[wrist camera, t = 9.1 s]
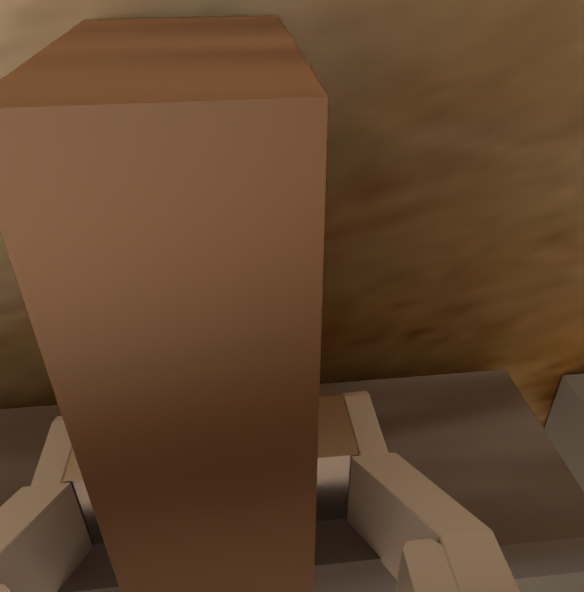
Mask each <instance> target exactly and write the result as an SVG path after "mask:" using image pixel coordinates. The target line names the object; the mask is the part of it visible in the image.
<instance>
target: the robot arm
mask: <svg viewBox="0 0 584 592" xmlns="http://www.w3.org/2000/svg"><path fill="white" fill-rule="evenodd" d="M336 519H347V521H348V522H349V523H350V525H351V526H352V527H353V528H354V529H355V530H356V531H357V532H358V533H359V535H360V536H361V537H362V538H363V539H364V540H365V541H366V542H367V543H368V545H369V546H370V547H371V548H372V549H373V550H374V551H375V552H376V553H377V555H378V556H379V557H380V558H381V562H382V563H383V565H384V566H385V567H386V568H387V569H388V571H389V572H390V573H391V574H392V575H393V576H394V578H395V579H396V580H397V583H396V588H395V592H520V591H519V588H518V586H517V584H516V582H515V580H514V577H513V575H512V573H511V571H510V569H509V566H508V564H507V562H506V560H505V557H504V555H503V553H502V551H501V549H500V546H499V544H498V542H497V540H496V538H495V535H494V533H493V531H492V530H491V529H490V528H489V527H487V526H486V525H485V524H484V523H482V522H481V521H480V520H479V519H477V518H476V517H475V516H474V515H473V514H471V513H470V512H469V511H468V510H466V509H465V508H464V507H463V506H461V505H460V504H459V503H458V502H456V501H455V500H454V499H453V498H451V497H450V496H449V495H448V494H447V493H445V492H444V491H443V490H442V489H440V488H439V487H438V486H437V485H435V484H434V483H433V482H432V481H430V480H429V479H428V478H427V477H425V476H424V475H423V474H422V473H421V472H419V471H418V470H417V469H416V468H414V467H413V466H412V465H411V464H409V463H408V462H407V461H406V460H404V459H403V458H402V457H401V456H399V455H398V454H397V453H388V450H387V447H386V444H385V441H384V438H383V435H382V432H381V429H380V426H379V423H378V420H377V417H376V414H375V411H374V408H373V404H372V401H371V398H370V395H369V394H368V392H367V391H359V392H349V393H342V394H340V393H339V394H328V395H319V428H318V462H317V495H316V521H325V520H336ZM102 543H104V541H103V538H102V535H101V532H100V529H99V526H98V523H97V520H96V517H95V514H94V511H93V508H92V505H91V502H90V499H89V496H88V493H87V490H86V487H85V484H84V481H83V478H82V475H81V472H80V469H79V466H78V463H77V460H76V457H75V454H74V451H73V448H72V445H71V442H70V439H69V436H68V433H67V430H66V427H65V424H64V421H63V418H62V416H57V417H56V418H55V420H54V421H53V422H52V424H51V427H50V430H49V433H48V436H47V439H46V442H45V445H44V447H43V450H42V453H41V456H40V459H39V462H38V465H37V468H36V471H35V474H34V477H33V480H32V483H31V486H26V487H22V488H20V489H19V490H18V491H17V492H16V493H15V494H14V495H13V496H12V497H11V498H9V499H8V500H7V501H6V502H5V503H4V504H3V505H2V506H1V507H0V592H58V591H59V590H60V589H61V587H62V586H63V585H64V583H65V582H66V581H67V580H68V578H69V577H70V576H71V575H72V573H73V572H74V571H75V569H76V568H77V567H78V566H79V564H80V563H81V562H82V561H83V559H84V558H85V557H86V555H87V554H88V553H89V552H90V550H91V549H92V548H93V546H92V545H93V544H102ZM578 592H584V591H578Z"/></svg>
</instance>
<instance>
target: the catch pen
mask: <svg viewBox="0 0 584 592" xmlns="http://www.w3.org/2000/svg"><path fill="white" fill-rule="evenodd" d="M544 431H545V432H546V434H547V435H548V437H549V438H550V440H551V442H552V443H553V445H554V446H555V448H556V449H557V451H558V453H559V454H560V456H561V457H562V459H563V460H564V462H565V463H566V465H567V467H568V468H569V470H570V471H571V473H572V474H573V476H574V478H575V479H576V481H577V482H578V484H579V485H580V487H581V489H582V490H583V492H584V373H582V374H571V375H563V376H562V379H561V382H560V385H559V387H558V390H557V393H556V396H555V399H554V402H553V405H552V408H551V411H550V413H549V416H548V419H547V422H546V425H545V428H544ZM514 580H515V582H516V584H517V586H518V588H519V591H520V592H578V591H584V572H575V573H566V574H557V575H549V576H540V577H531V578H522V579H514Z"/></svg>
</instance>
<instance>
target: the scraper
mask: <svg viewBox="0 0 584 592" xmlns="http://www.w3.org/2000/svg"><path fill="white" fill-rule="evenodd" d="M327 122H328V96H327V94H326V92H325V91H324V89H323V88H322V86H321V84H320V83H319V81H318V80H317V78H316V76H315V75H314V73H313V71H312V70H311V68H310V67H309V65H308V63H307V62H306V60H305V59H304V57H303V55H302V54H301V52H300V51H299V49H298V47H297V46H296V44H295V43H294V41H293V39H292V38H291V36H290V35H289V33H288V31H287V30H286V28H285V26H284V25H283V23H282V22H281V20H280V18H279V17H278V16H235V17H189V18H143V19H97V20H83V21H82V22H81V23H79V24H78V25H76V26H75V27H74V28H72V29H71V30H69V31H68V32H67V33H65V34H64V35H63V36H61V37H60V38H58V39H57V40H56V41H54V42H53V43H51V44H50V45H49V46H47V47H46V48H44V49H43V50H42V51H40V52H39V53H37V54H36V55H35V56H33V57H32V58H31V59H29V60H28V61H26V62H25V63H24V64H22V65H21V66H19V67H18V68H17V69H15V70H14V71H12V72H11V73H10V74H8V75H7V76H6V77H4V78H3V79H1V80H0V232H1V235H2V238H3V241H4V244H5V247H6V250H7V253H8V256H9V259H10V262H11V265H12V268H13V271H14V274H15V277H16V280H17V283H18V286H19V289H20V292H21V295H22V298H23V301H24V304H25V307H26V310H27V313H28V316H29V319H30V322H31V325H32V328H33V331H34V334H35V337H36V340H37V343H38V346H39V349H40V352H41V355H42V358H43V361H44V364H45V367H46V370H47V373H48V376H49V379H50V382H51V385H52V388H53V391H54V394H55V397H56V400H57V403H58V405H48V406H35V407H22V408H10V409H0V507H1V506H2V505H3V504H4V503H5V502H6V501H7V500H8V499H9V498H11V497H12V496H13V495H14V494H15V493H16V492H17V491H18V490H19V489H20V488H22V487H26V486H31V483H32V480H33V477H34V474H35V471H36V468H37V465H38V462H39V459H40V456H41V453H42V450H43V447H44V445H45V442H46V439H47V436H48V433H49V430H50V427H51V424H52V422H53V421H54V420H55V418H56V417H57V416H62V418H63V421H64V424H65V427H66V430H67V433H68V436H69V439H70V442H71V445H72V448H73V451H74V454H75V457H76V460H77V463H78V466H79V469H80V472H81V475H82V478H83V481H84V484H85V487H86V490H87V493H88V496H89V499H90V502H91V505H92V508H93V511H94V514H95V517H96V520H97V523H98V526H99V529H100V532H101V535H102V538H103V541H104V543H102V544H93V545H92V546H93V548H92V549H91V550H90V552H89V553H88V554H87V555H86V557H85V558H84V559H83V561H82V562H81V563H80V564H79V566H78V567H77V568H76V569H75V571H74V572H73V573H72V575H71V576H70V577H69V578H68V580H67V581H66V582H65V583H64V585H63V586H62V587H61V589H60V590H59V591H58V592H395V588H396V583H397V580H396V579H395V578H394V576H393V575H392V574H391V573H390V572H389V571H388V569H387V568H386V567H385V566H384V565H383V563H382V562H381V558H380V557H379V556H378V555H377V553H376V552H375V551H374V550H373V549H372V548H371V547H370V546H369V545H368V543H367V542H366V541H365V540H364V539H363V538H362V537H361V536H360V535H359V533H358V532H357V531H356V530H355V529H354V528H353V527H352V526H351V525H350V523H349V522H348V521H347V519H336V520H325V521H316V495H317V462H318V428H319V395H328V394H339V393H340V394H342V393H349V392H359V391H367V392H368V394H369V395H370V398H371V401H372V404H373V408H374V411H375V414H376V417H377V420H378V423H379V426H380V429H381V432H382V435H383V438H384V441H385V444H386V447H387V450H388V453H397V454H398V455H399V456H401V457H402V458H403V459H404V460H406V461H407V462H408V463H409V464H411V465H412V466H413V467H414V468H416V469H417V470H418V471H419V472H421V473H422V474H423V475H424V476H425V477H427V478H428V479H429V480H430V481H432V482H433V483H434V484H435V485H437V486H438V487H439V488H440V489H442V490H443V491H444V492H445V493H447V494H448V495H449V496H450V497H451V498H453V499H454V500H455V501H456V502H458V503H459V504H460V505H461V506H463V507H464V508H465V509H466V510H468V511H469V512H470V513H471V514H473V515H474V516H475V517H476V518H477V519H479V520H480V521H481V522H482V523H484V524H485V525H486V526H487V527H489V528H490V529H491V530H492V531H493V533H494V535H495V538H496V540H497V542H498V544H499V546H500V549H501V551H502V553H503V555H504V557H505V560H506V562H507V564H508V566H509V569H510V571H511V573H512V575H513V577H514V579H522V578H531V577H540V576H549V575H557V574H566V573H575V572H584V492H583V490H582V489H581V487H580V485H579V484H578V482H577V481H576V479H575V478H574V476H573V474H572V473H571V471H570V470H569V468H568V467H567V465H566V463H565V462H564V460H563V459H562V457H561V456H560V454H559V453H558V451H557V449H556V448H555V446H554V445H553V443H552V442H551V440H550V438H549V437H548V435H547V434H546V432H545V431H544V429H543V427H542V426H541V424H540V423H539V421H538V420H537V418H536V417H535V415H534V413H533V412H532V410H531V409H530V407H529V406H528V404H527V402H526V401H525V399H524V398H523V396H522V395H521V393H520V391H519V390H518V388H517V387H516V385H515V384H514V382H513V381H512V379H511V377H510V376H509V374H508V373H507V371H506V370H505V369H503V370H490V371H478V372H465V373H452V374H440V375H427V376H414V377H402V378H389V379H376V380H364V381H351V382H339V383H326V384H320V360H321V326H322V292H323V258H324V224H325V190H326V156H327Z"/></svg>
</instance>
